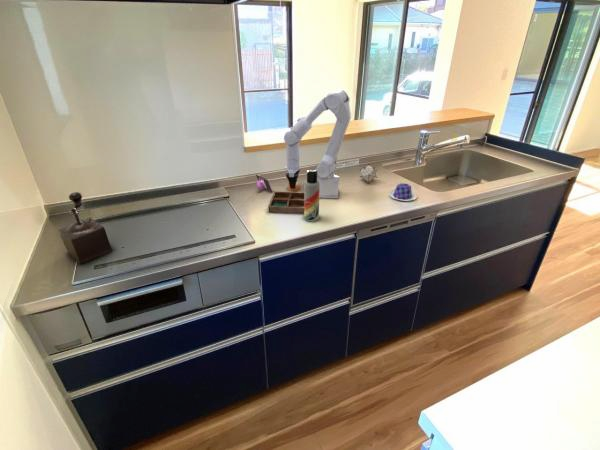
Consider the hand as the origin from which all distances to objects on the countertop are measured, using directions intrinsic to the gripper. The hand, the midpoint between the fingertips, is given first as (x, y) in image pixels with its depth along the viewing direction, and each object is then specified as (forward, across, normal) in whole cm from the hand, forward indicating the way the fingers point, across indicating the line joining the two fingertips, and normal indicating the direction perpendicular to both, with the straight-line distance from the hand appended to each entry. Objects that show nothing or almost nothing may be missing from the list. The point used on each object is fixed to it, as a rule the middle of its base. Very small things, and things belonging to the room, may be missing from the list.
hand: (293, 185), depth 159 cm
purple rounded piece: (+2, +3, -14) cm, 14 cm away
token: (+1, 0, 0) cm, 1 cm away
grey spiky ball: (+2, -12, +35) cm, 37 cm away
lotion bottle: (+2, +28, +10) cm, 30 cm away
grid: (+1, +17, 0) cm, 17 cm away
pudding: (+2, +4, +49) cm, 49 cm away
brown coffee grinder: (+2, +56, -64) cm, 85 cm away
